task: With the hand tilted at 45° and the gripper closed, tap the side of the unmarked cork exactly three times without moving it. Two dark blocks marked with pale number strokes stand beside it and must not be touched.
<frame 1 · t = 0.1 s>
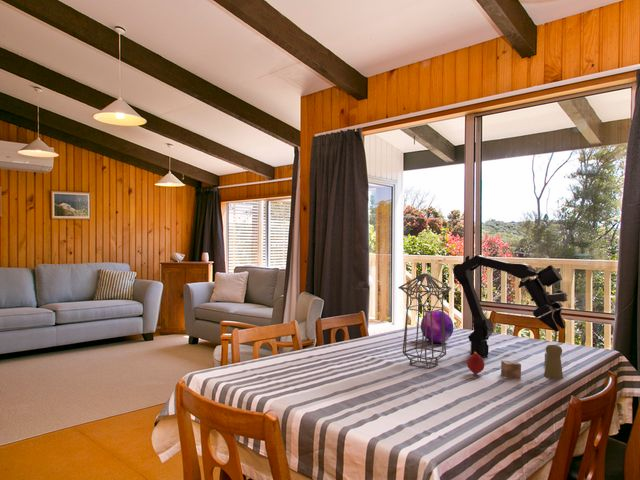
hand: (560, 329, 175), 15 cm above the table, tool tilted 35°, fingers open, 9 cm apart
decorative orb: (436, 342, 220), on the table
walnut marked block: (510, 376, 164), on the table
geometric lantern: (423, 366, 176), on the table
onion: (475, 374, 166), on the table
cork: (553, 377, 165), on the table
slate marked block: (551, 365, 181), on the table
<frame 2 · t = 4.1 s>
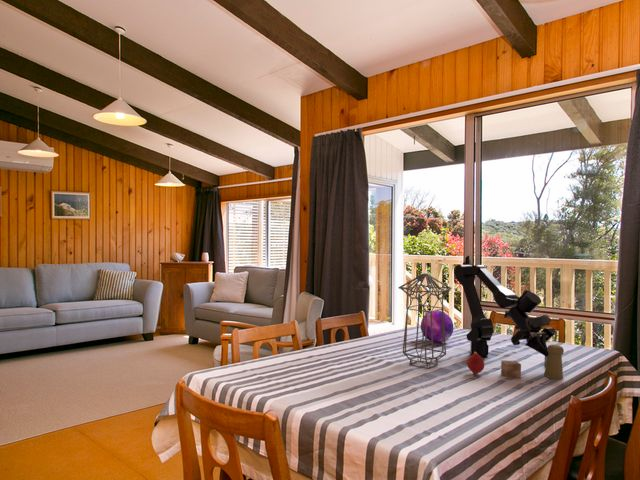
hand: (548, 355, 167), 7 cm above the table, tool tilted 45°, fingers closed
cork: (553, 376, 165), on the table, touching gripper
everything else where it was.
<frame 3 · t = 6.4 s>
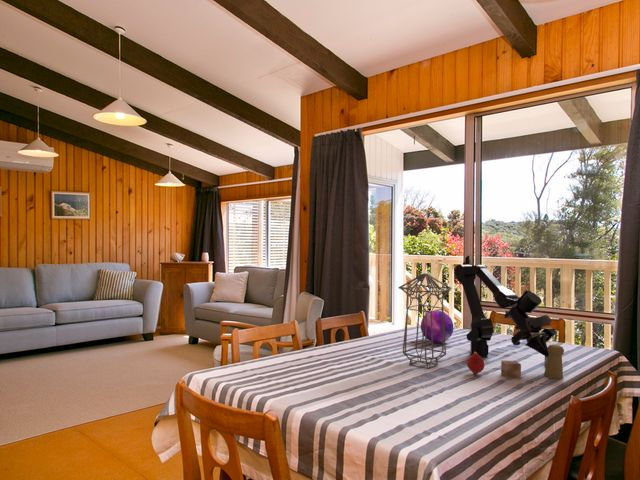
hand: (548, 356, 167), 7 cm above the table, tool tilted 45°, fingers closed
nothing on the table moved.
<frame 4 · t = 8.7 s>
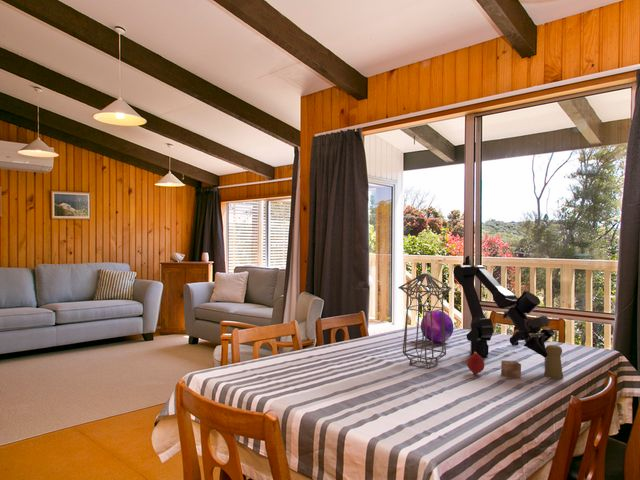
hand: (546, 356, 167), 6 cm above the table, tool tilted 45°, fingers closed
cork: (553, 377, 165), on the table
everything else where it was.
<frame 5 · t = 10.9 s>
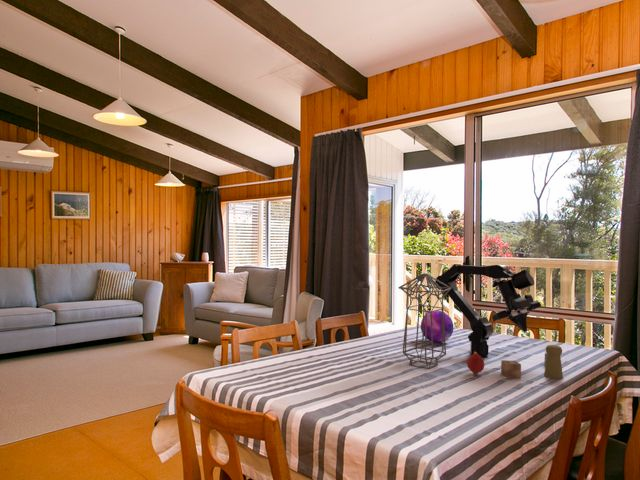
hand: (525, 332, 182), 12 cm above the table, tool tilted 25°, fingers closed
nothing on the table moved.
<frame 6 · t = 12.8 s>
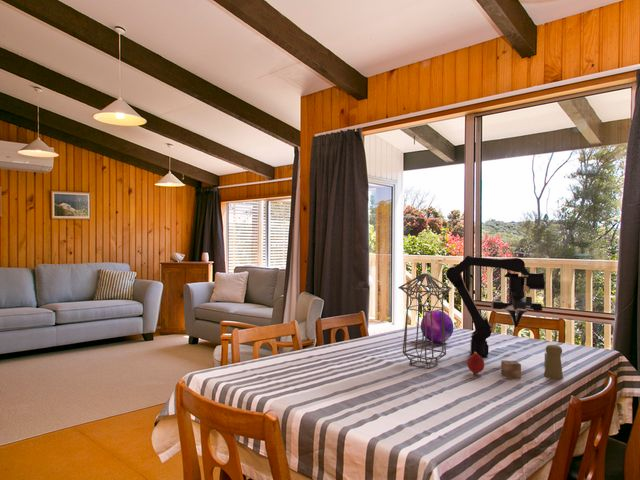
hand: (515, 327, 191), 13 cm above the table, tool pointing down, fingers closed
nothing on the table moved.
at the end: cork moved 0.2 cm from its start; cork tilted 0°; walnut marked block moved 0.1 cm from its start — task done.
